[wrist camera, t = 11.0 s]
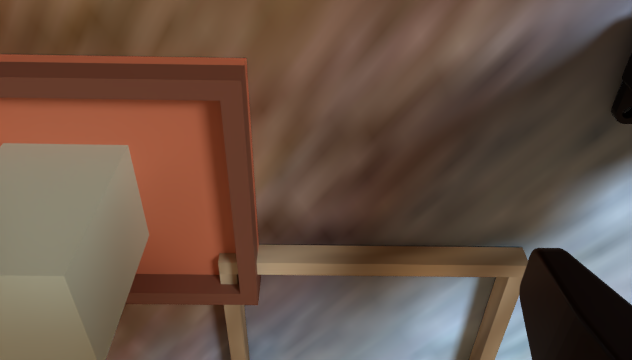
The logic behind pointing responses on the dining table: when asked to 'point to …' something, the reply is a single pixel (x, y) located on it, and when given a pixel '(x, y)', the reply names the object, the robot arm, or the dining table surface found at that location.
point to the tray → (156, 156)
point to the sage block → (66, 248)
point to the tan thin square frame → (389, 262)
